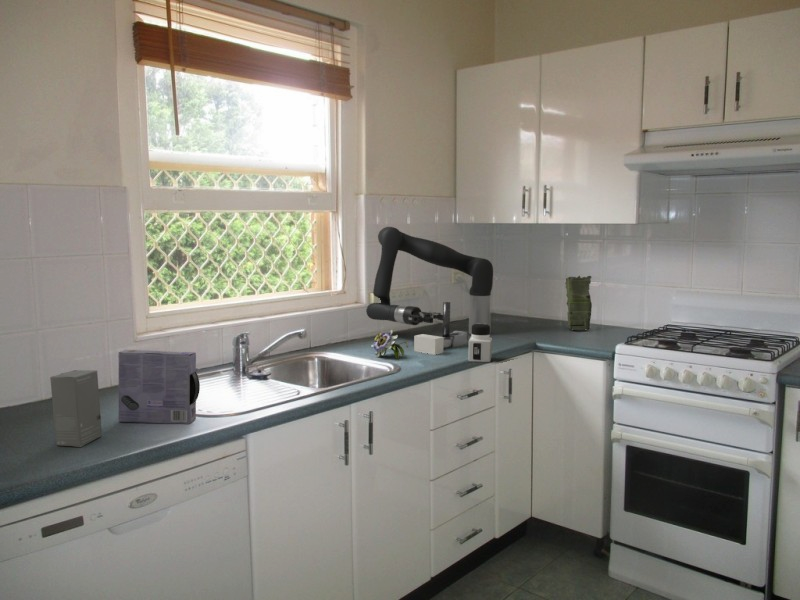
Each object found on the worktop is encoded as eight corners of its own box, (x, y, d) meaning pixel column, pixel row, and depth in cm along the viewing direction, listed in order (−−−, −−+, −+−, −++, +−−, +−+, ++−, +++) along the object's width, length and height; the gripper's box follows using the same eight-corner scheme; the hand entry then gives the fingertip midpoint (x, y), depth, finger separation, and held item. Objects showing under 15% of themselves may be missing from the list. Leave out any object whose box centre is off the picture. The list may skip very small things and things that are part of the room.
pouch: (562, 330, 301) (565, 275, 298) (567, 327, 312) (569, 273, 309) (588, 332, 297) (590, 277, 294) (591, 328, 308) (593, 274, 305)
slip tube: (457, 341, 269) (457, 299, 267) (464, 342, 267) (464, 300, 264) (433, 347, 257) (434, 303, 255) (440, 348, 255) (441, 304, 253)
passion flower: (379, 372, 243) (363, 344, 245) (400, 362, 250) (384, 335, 252) (394, 359, 235) (377, 330, 237) (415, 349, 242) (399, 321, 244)
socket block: (422, 349, 257) (422, 334, 257) (443, 352, 251) (443, 337, 250) (414, 351, 254) (414, 335, 253) (435, 354, 247) (435, 339, 246)
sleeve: (457, 343, 270) (457, 330, 270) (467, 344, 267) (467, 331, 266) (443, 346, 264) (443, 333, 263) (454, 348, 260) (454, 334, 260)
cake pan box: (201, 418, 168) (199, 349, 166) (194, 424, 163) (192, 354, 161) (126, 417, 169) (123, 348, 167) (117, 423, 164) (114, 352, 162)
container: (490, 362, 235) (491, 326, 233) (468, 361, 236) (468, 325, 235) (491, 358, 242) (492, 322, 241) (470, 357, 244) (471, 322, 242)
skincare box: (80, 448, 146) (76, 377, 144) (51, 446, 147) (47, 376, 145) (104, 435, 154) (100, 369, 152) (76, 433, 156) (72, 367, 154)
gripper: (396, 307, 266) (428, 311, 256) (419, 304, 277) (450, 307, 266) (396, 326, 267) (427, 330, 256) (418, 322, 278) (450, 326, 267)
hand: (439, 319), depth 261 cm, fingers open, 8 cm apart
